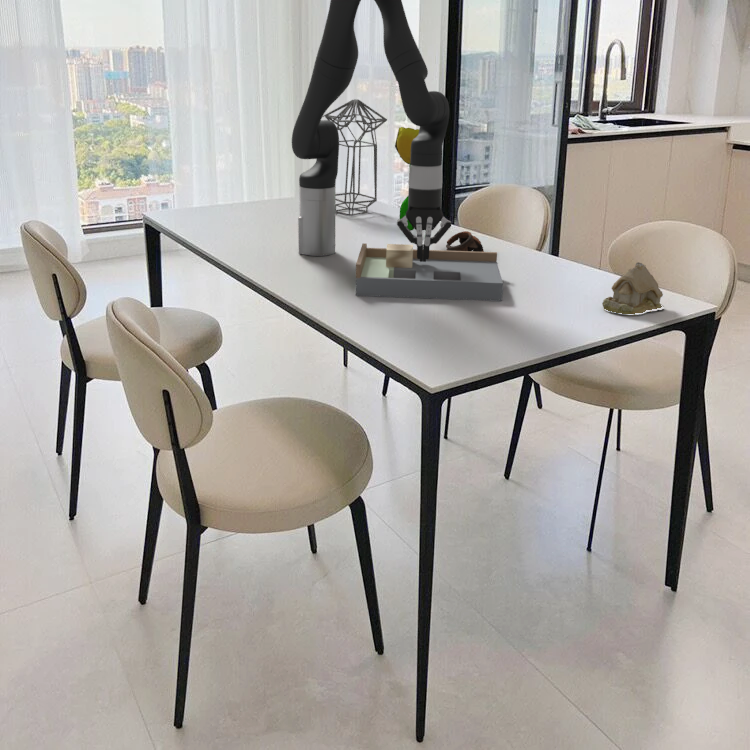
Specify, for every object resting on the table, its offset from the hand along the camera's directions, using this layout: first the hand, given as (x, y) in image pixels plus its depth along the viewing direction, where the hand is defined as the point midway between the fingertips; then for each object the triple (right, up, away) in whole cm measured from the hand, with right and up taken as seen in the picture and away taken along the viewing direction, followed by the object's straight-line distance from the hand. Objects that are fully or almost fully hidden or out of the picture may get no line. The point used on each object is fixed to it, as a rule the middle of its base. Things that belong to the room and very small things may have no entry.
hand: (422, 260), depth 195 cm
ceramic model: (+44, -12, -14) cm, 48 cm away
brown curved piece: (+12, +3, +23) cm, 26 cm away
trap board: (+1, -6, -2) cm, 6 cm away
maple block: (-5, -1, 0) cm, 6 cm away
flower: (-2, +14, +49) cm, 51 cm away
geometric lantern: (-18, +26, +77) cm, 83 cm away
